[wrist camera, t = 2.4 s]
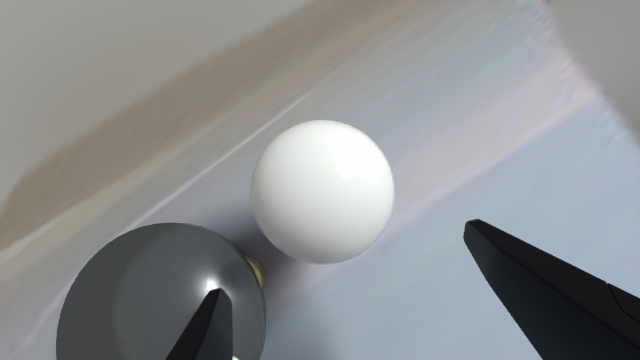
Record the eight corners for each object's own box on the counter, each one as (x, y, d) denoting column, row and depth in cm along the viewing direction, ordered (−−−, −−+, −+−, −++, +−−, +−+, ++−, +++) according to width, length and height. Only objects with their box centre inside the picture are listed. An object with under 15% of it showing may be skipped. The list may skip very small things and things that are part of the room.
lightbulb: (340, 264, 19) (356, 319, 8) (267, 219, 20) (190, 213, 9) (382, 189, 20) (448, 146, 9) (310, 148, 20) (289, 62, 10)
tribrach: (204, 460, 17) (182, 502, 15) (54, 348, 19) (11, 368, 16) (305, 281, 19) (301, 290, 16) (159, 191, 20) (135, 186, 18)
